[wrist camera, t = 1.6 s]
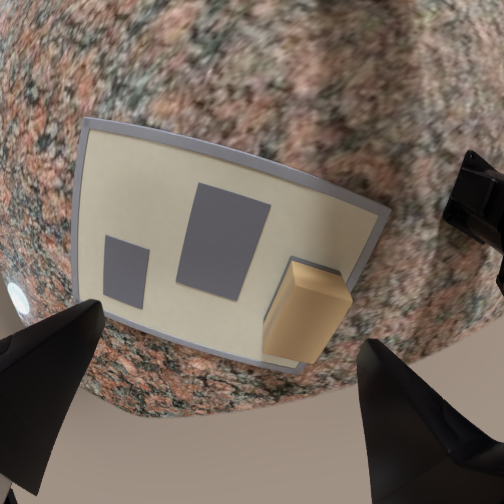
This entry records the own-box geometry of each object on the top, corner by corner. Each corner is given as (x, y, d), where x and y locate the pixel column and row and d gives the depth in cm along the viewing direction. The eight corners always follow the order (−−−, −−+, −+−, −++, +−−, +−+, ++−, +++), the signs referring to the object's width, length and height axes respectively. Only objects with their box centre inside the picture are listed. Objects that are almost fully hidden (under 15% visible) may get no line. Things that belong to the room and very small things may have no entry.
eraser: (340, 270, 20) (353, 301, 16) (308, 330, 22) (313, 364, 19) (290, 254, 20) (295, 284, 16) (263, 318, 22) (261, 353, 18)
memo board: (387, 206, 18) (392, 209, 18) (298, 369, 26) (299, 375, 25) (90, 116, 17) (83, 117, 16) (77, 297, 24) (73, 302, 23)
